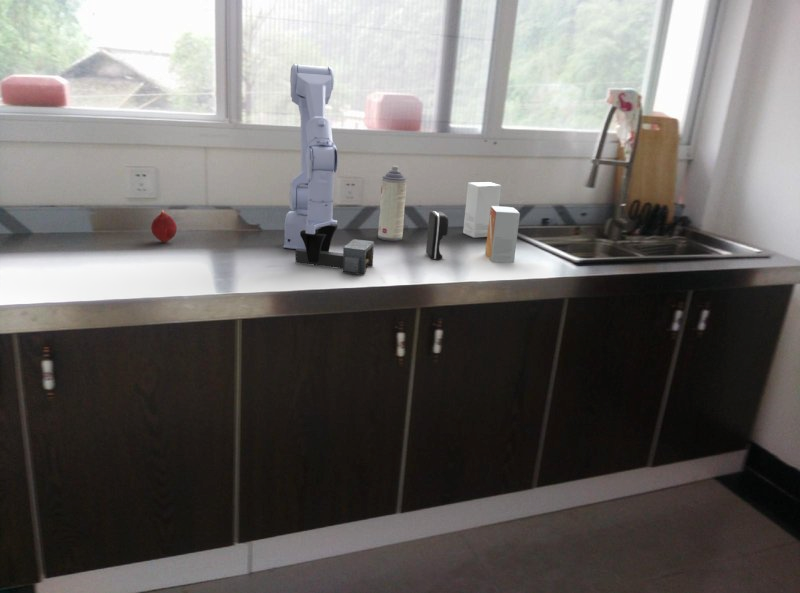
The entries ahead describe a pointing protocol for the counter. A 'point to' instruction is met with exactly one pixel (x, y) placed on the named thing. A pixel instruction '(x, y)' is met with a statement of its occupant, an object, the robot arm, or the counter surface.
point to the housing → (357, 256)
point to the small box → (502, 234)
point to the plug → (322, 258)
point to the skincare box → (480, 207)
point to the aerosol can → (392, 205)
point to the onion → (164, 227)
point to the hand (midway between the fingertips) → (318, 258)
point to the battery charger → (436, 233)
